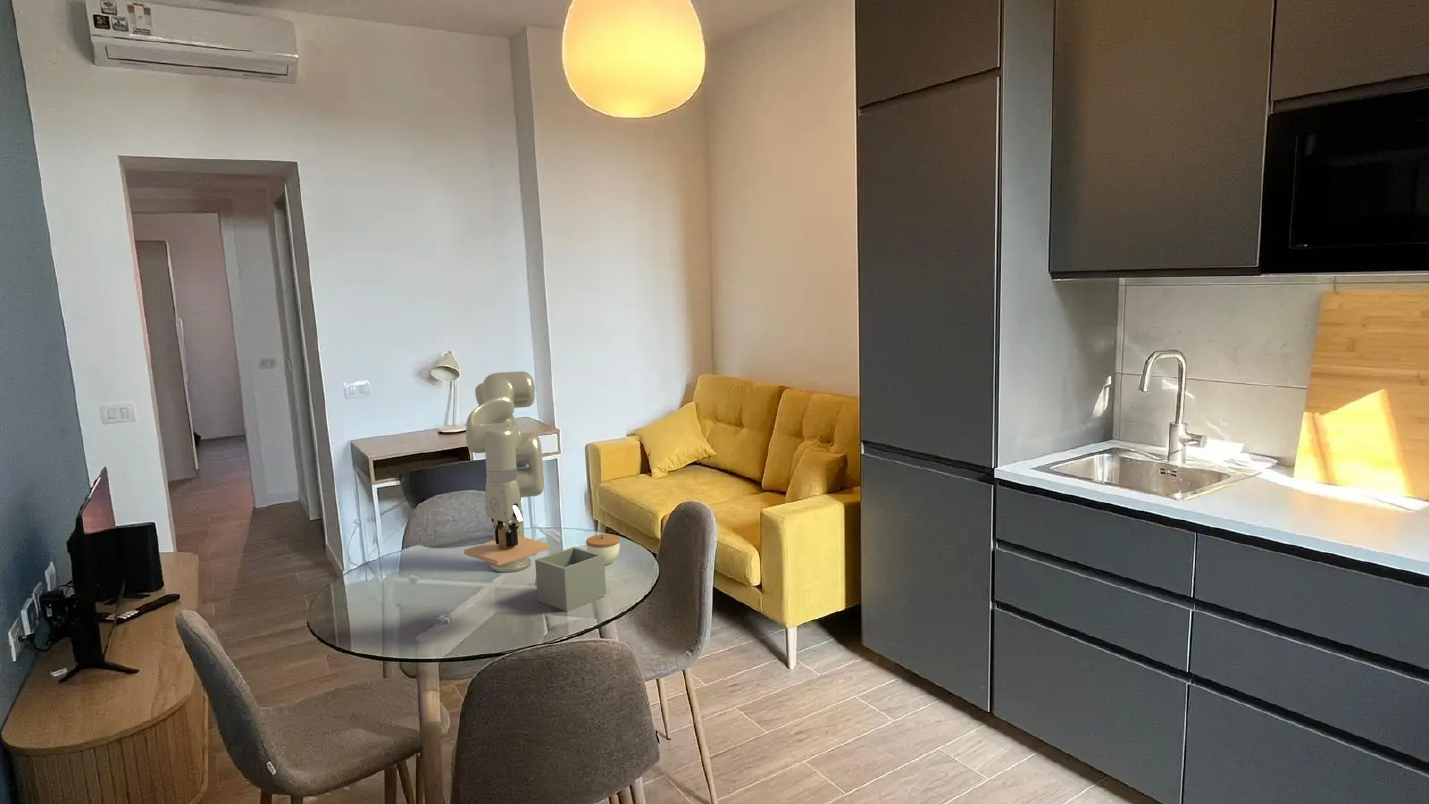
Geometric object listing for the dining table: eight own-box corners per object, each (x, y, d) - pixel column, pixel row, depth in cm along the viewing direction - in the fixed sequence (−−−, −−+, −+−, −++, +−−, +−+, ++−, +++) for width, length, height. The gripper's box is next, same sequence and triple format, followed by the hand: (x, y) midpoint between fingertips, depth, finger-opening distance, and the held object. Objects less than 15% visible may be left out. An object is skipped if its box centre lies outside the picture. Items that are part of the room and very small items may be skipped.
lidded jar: (627, 559, 257) (626, 531, 255) (606, 570, 248) (604, 541, 246) (602, 555, 262) (600, 527, 261) (580, 564, 253) (578, 536, 252)
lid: (464, 558, 207) (462, 531, 206) (516, 542, 219) (514, 517, 218) (498, 569, 197) (496, 541, 196) (550, 552, 209) (548, 525, 208)
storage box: (537, 600, 224) (535, 559, 223) (576, 586, 235) (574, 546, 233) (567, 611, 216) (564, 569, 214) (606, 595, 226) (603, 555, 225)
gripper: (471, 474, 208) (476, 542, 210) (508, 482, 197) (513, 554, 199) (495, 469, 213) (500, 535, 216) (533, 476, 202) (538, 546, 205)
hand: (506, 543), depth 207 cm, fingers closed on lid, 4 cm apart
